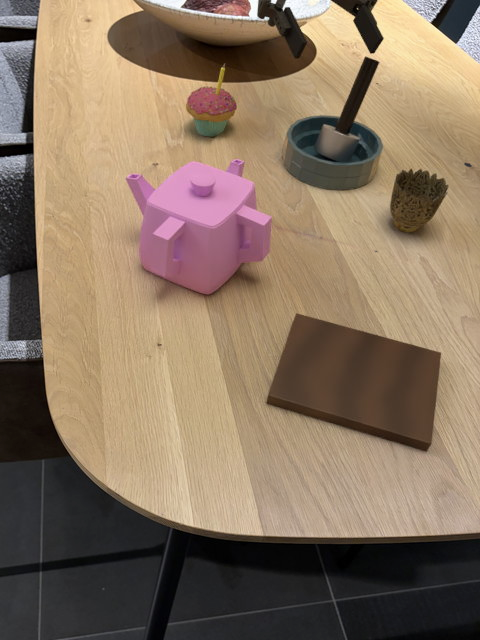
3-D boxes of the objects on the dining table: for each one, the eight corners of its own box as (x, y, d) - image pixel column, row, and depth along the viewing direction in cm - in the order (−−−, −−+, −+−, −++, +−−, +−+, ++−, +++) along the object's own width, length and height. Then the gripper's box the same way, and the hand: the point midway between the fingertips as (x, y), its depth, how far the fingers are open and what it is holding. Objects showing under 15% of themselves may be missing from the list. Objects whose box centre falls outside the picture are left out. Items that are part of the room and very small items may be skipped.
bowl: (380, 154, 104) (388, 127, 100) (366, 202, 95) (375, 173, 91) (293, 135, 107) (298, 107, 103) (272, 180, 97) (276, 151, 94)
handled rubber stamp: (350, 160, 102) (391, 66, 95) (348, 165, 97) (392, 66, 89) (315, 146, 103) (353, 52, 95) (311, 151, 97) (352, 50, 90)
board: (436, 360, 74) (441, 352, 73) (426, 451, 65) (431, 443, 64) (294, 321, 77) (296, 312, 76) (266, 403, 68) (268, 395, 67)
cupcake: (242, 129, 107) (250, 59, 98) (216, 148, 103) (222, 76, 93) (202, 113, 110) (206, 44, 101) (175, 131, 105) (177, 60, 96)
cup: (384, 209, 94) (400, 162, 88) (432, 221, 92) (451, 175, 86) (375, 236, 89) (391, 188, 83) (425, 249, 88) (445, 202, 82)
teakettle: (153, 306, 77) (153, 226, 68) (125, 227, 87) (121, 148, 78) (277, 286, 81) (293, 207, 71) (235, 212, 91) (245, 135, 82)
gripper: (339, -36, 101) (392, 64, 96) (205, -37, 92) (256, 74, 86) (362, -82, 94) (421, 23, 89) (220, -87, 85) (277, 29, 80)
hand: (340, 48), depth 88 cm, fingers open, 13 cm apart
